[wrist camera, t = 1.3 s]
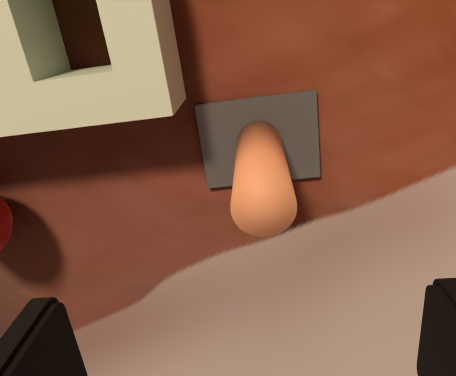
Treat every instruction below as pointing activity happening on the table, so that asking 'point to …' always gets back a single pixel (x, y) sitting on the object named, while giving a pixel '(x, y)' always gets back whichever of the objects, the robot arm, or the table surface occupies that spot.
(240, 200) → the peg
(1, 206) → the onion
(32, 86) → the socket block
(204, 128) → the mat
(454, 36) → the table surface
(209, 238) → the table surface
